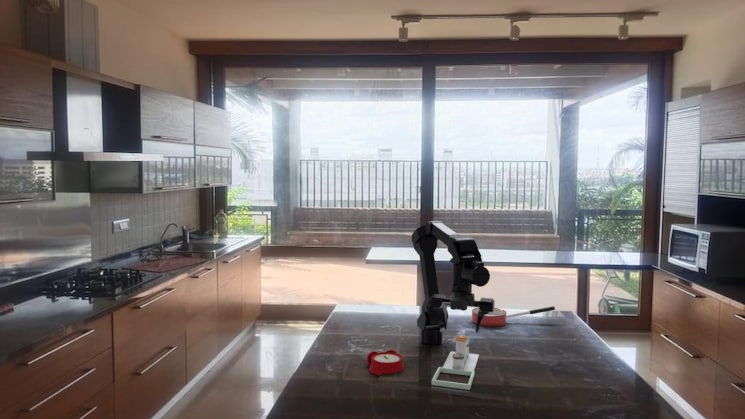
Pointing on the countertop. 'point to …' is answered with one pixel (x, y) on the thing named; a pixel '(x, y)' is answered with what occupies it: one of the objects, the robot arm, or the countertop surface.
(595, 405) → the countertop surface
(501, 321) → the frying pan
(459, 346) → the cylinder
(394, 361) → the alarm clock
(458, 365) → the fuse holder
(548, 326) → the countertop surface
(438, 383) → the tray
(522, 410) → the countertop surface
